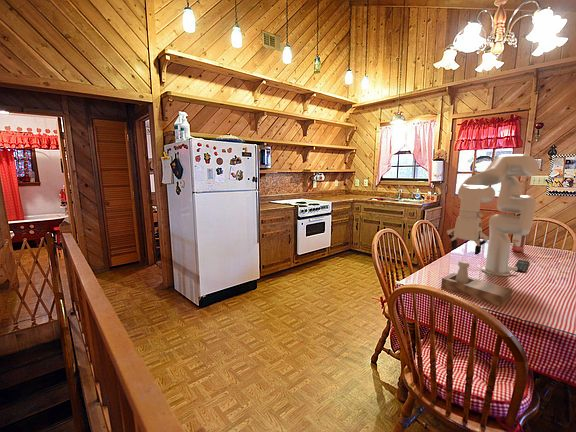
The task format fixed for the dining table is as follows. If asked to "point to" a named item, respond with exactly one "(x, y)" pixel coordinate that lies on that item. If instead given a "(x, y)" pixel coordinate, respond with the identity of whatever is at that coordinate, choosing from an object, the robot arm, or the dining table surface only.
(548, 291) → the dining table surface
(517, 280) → the dining table surface
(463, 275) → the salt shaker
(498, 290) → the caddy
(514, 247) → the liquor
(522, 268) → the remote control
